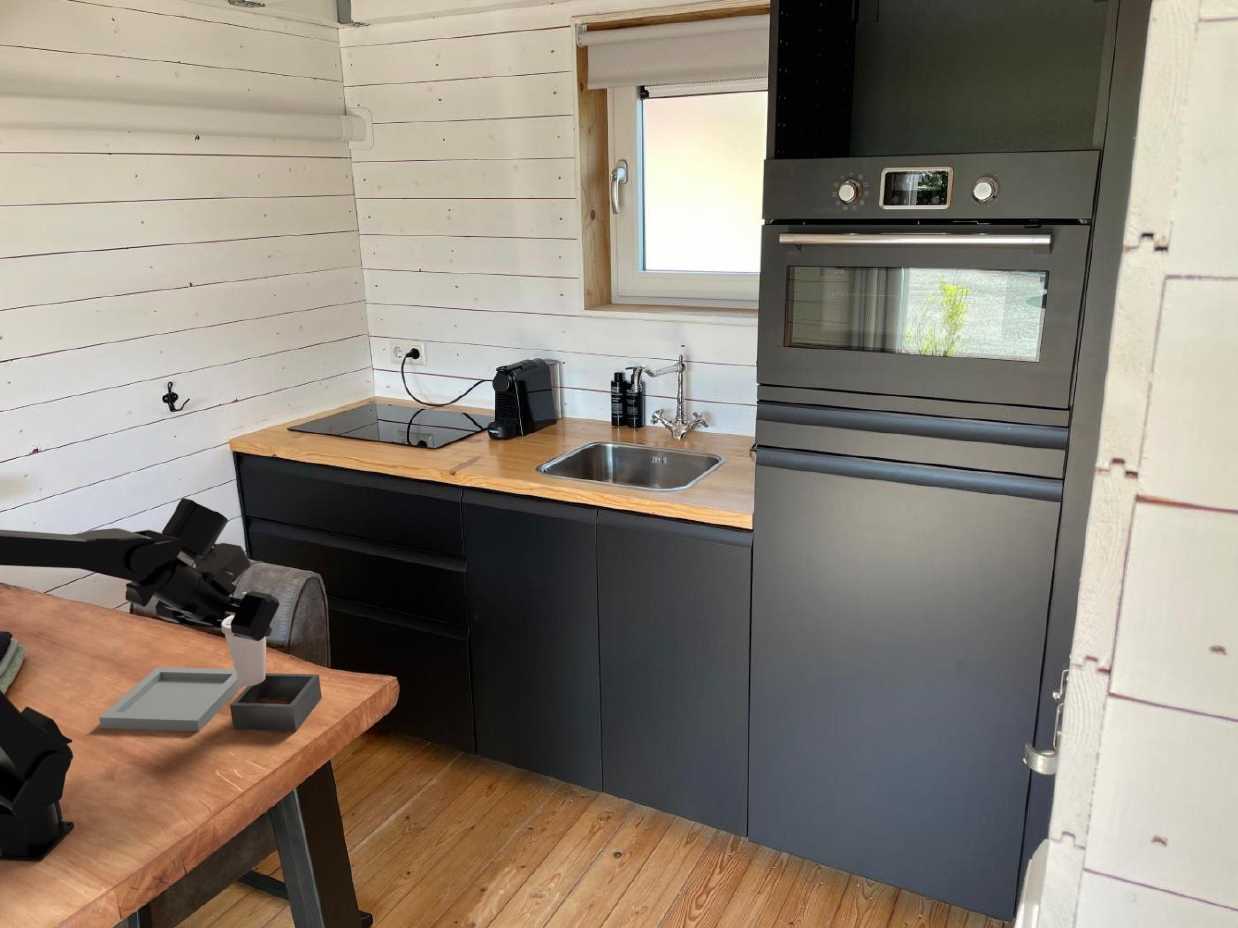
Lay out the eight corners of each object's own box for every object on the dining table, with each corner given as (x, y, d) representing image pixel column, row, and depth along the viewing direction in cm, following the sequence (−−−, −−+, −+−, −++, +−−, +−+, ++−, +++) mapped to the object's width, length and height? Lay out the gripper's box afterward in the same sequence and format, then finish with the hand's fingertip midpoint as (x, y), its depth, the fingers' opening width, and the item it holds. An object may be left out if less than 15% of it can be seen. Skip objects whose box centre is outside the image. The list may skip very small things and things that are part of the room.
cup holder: (296, 731, 134) (292, 706, 133) (233, 729, 135) (229, 705, 134) (321, 697, 143) (318, 674, 142) (263, 695, 144) (259, 672, 143)
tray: (199, 731, 134) (197, 720, 134) (101, 728, 136) (98, 717, 135) (247, 679, 149) (246, 669, 148) (158, 677, 150) (157, 667, 150)
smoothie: (258, 692, 134) (247, 602, 130) (219, 688, 135) (207, 599, 132) (283, 671, 140) (273, 585, 136) (245, 667, 141) (234, 582, 138)
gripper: (261, 542, 124) (325, 588, 137) (161, 524, 131) (231, 570, 144) (222, 619, 119) (292, 660, 132) (120, 596, 127) (196, 637, 139)
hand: (252, 629), depth 137 cm, fingers closed on smoothie, 6 cm apart
